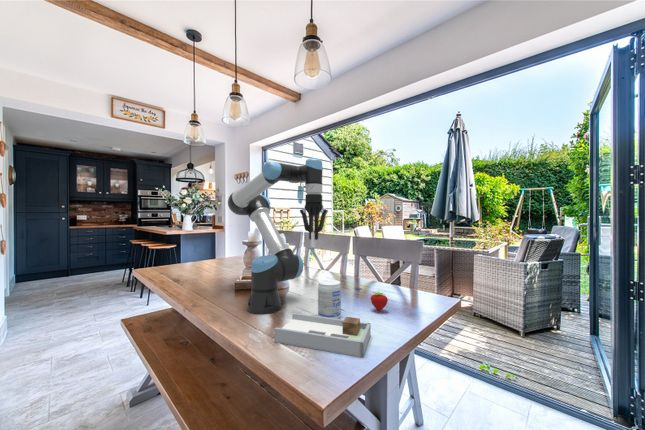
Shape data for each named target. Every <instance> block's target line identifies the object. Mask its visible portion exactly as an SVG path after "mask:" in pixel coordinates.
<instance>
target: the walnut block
mask: <svg viewBox="0 0 645 430" xmlns="http://www.w3.org/2000/svg"><path fill="white" fill-rule="evenodd" d="M343 320H344V321H343V334H347V335H354V336H357V335H358V333H359V331H360V322H361V318H358V317H351V316H350V317H349V316H345V318H344V319H343Z"/></svg>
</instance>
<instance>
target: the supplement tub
mask: <svg viewBox="0 0 645 430" xmlns="http://www.w3.org/2000/svg"><path fill="white" fill-rule="evenodd" d="M341 292H342V286H341V281H339V280H336V279H321V280H319V281H318V288H317V314H318V315H317V316H320V317H327V318H335V319H341V312H342V311H341V309H342V307H341V305H342V303H341V301H342V298H341V297H342V296H341V295H342V293H341Z"/></svg>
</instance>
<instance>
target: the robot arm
mask: <svg viewBox="0 0 645 430" xmlns="http://www.w3.org/2000/svg"><path fill="white" fill-rule="evenodd" d="M304 164H305V165H295V164H294V165H293V164H287V163H282V162H277V161H266V162H265V163H264V164H263V166H262V171H261V172H260V173H259V174H257V176H255V177H254V178H253V179H251V180H250V181H249V182H248V183H246V184H245V185H244V186H243V187H241V188H240V189H236V190H234V191H233V192H232V193H230V195H229V196H228V199H227V206H228V208H229V210H230V211H231V212H232V213H233V214H235V215H237V216H248V218H249V219H250V221H251V222H253V223H254V224H255V225H256V227H257V229H258V232H259V234H260V236H261V237H262V239H263V241H264V244H265V245H266V247H267V250H268V251H269V253H270V254H268V255H261V256H257V257H255V258H254V259H253V260H252V262H251V267H250V272H251V278H250V279H251V282H250V283H251V285H250V286H251V288H250V289H251V290H250V291H251V292H250V296H249V299H248V301H247V305H246V309H247V311H248V312H249V313H251V314H255V315H266V314H273V313H276V312H278V311H279V310H281V309H282V300H281V297H280V295H279V292H278V284H279V283H281V282H286V281H293V280H294V279H297V278H299V277H300V276H301V275H302V273H303V271H304V261H303V258H302V256H300V255H299V254H294V252H293V250H292V248H290V247H287V246H286V244H285V241H284V240H283V238H282V236H281V234H280V233H279V231H278V229H277V227H276V225H275V224H274V222H273V220H272V218H271V216H270V213H271V208H272V207H271V202H270V199H269V198H268V197H267V196H266V195H263V193H264V192H266V191H267V190H269V188H271V187H272V186H274V185H275V184H277V183H278V182H279V181H283V182H289V183H291V184H298V183H305V198H304V199H305V205H304V208H302V209H300V210H299V213H300V214H301V217H302V221H303V226H304V230H305V231H306V232H308V237H309V240H310V248H316V247H317V240H319V233H320V232H322V231H323V229H324V225H325V220H326V217H327V214H328V212H329V210H328V209H326V208H324V205H323V195H322V194H323V161H322V160H321V159H319V158H307V159H306V160H305V163H304ZM320 213H321V215H320ZM307 214H308V215H307ZM319 219H320V220H319Z"/></svg>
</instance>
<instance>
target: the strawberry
mask: <svg viewBox="0 0 645 430" xmlns="http://www.w3.org/2000/svg"><path fill="white" fill-rule="evenodd" d="M372 293H373V294H372V295H371V296H370V302H371V304H372V306H373V307H374V308H375V310H376V311H377V312H379V313H380V312H382V310H383V309H384V308H385V307H386V305H387V304H388V302H389V300H388V297H387V296H386V294H383V292H380V291H377V292H372Z"/></svg>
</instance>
